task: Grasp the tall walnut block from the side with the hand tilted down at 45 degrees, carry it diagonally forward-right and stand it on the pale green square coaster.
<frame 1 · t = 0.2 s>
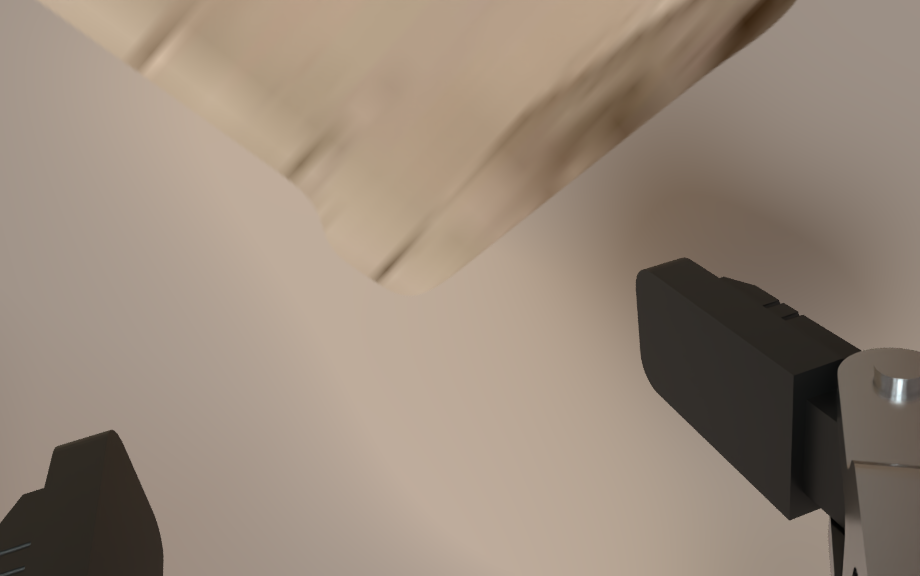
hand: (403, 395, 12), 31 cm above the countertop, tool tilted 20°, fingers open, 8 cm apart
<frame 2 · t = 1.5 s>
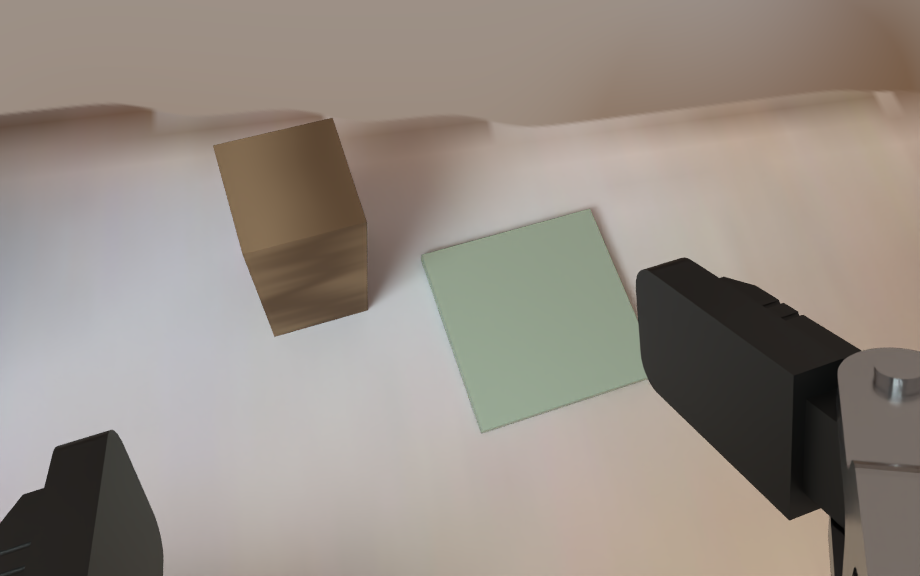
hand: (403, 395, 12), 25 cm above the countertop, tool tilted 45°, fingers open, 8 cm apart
walnut block: (308, 280, 39), on the countertop
coaster: (537, 317, 39), on the countertop
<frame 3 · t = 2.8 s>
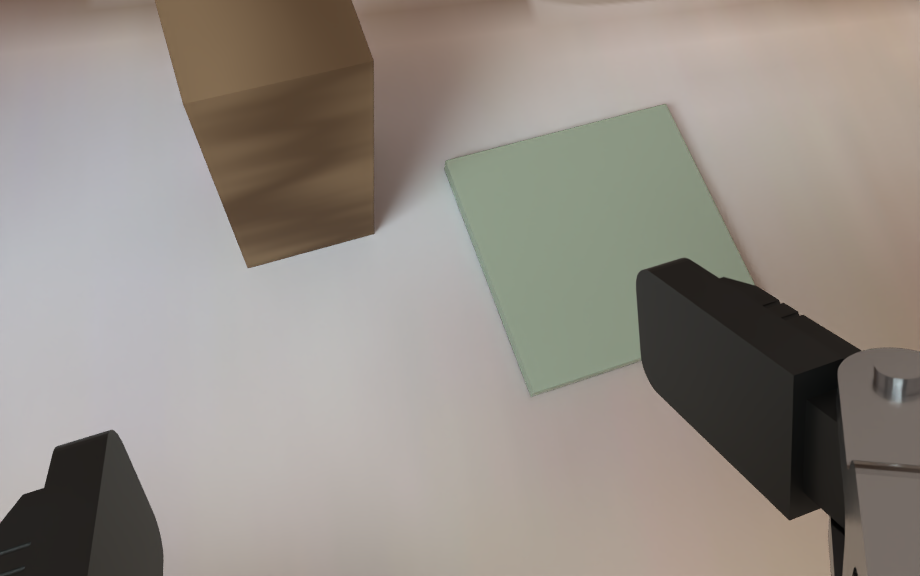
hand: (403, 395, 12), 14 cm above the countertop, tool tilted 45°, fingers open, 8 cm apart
walnut block: (294, 195, 29), on the countertop
coaster: (600, 243, 29), on the countertop
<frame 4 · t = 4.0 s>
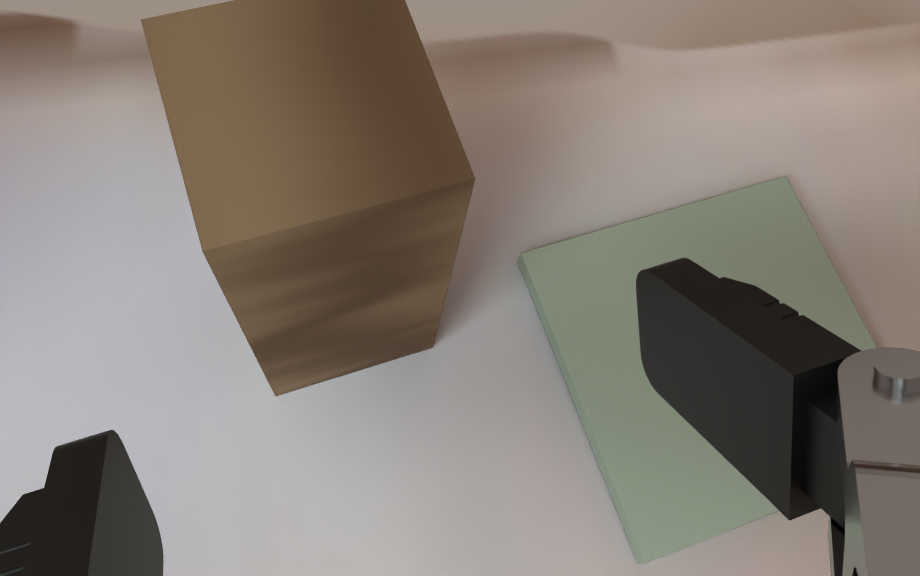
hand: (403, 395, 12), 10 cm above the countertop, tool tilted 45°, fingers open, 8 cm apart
walnut block: (332, 298, 23), on the countertop
coaster: (714, 355, 23), on the countertop
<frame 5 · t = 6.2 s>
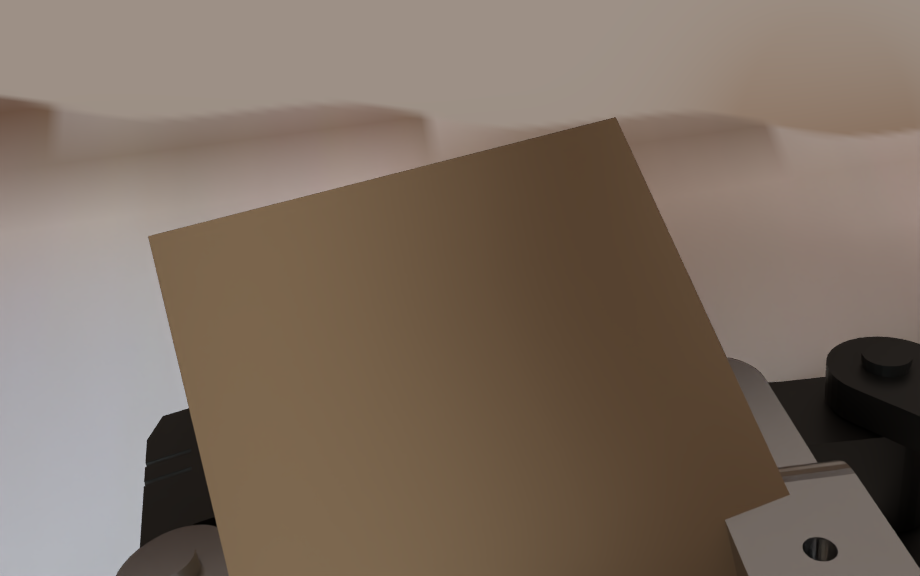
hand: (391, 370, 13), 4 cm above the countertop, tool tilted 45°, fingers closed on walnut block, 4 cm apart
walnut block: (416, 510, 16), on the countertop, touching gripper
when the fingers open (5 cm above the countertop, at t = 11.5 s): walnut block stays where it is, resting on coaster.
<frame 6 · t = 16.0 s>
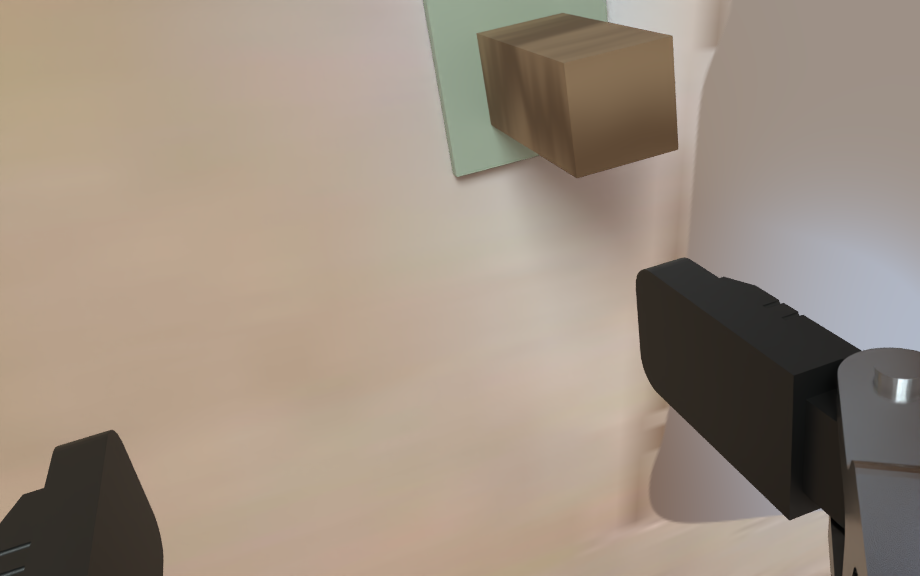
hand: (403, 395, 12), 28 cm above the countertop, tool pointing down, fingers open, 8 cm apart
walnut block: (526, 69, 40), point 1 cm above the countertop, touching coaster
coaster: (523, 66, 40), on the countertop
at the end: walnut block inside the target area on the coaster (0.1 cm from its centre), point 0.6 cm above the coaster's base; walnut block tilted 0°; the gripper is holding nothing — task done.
